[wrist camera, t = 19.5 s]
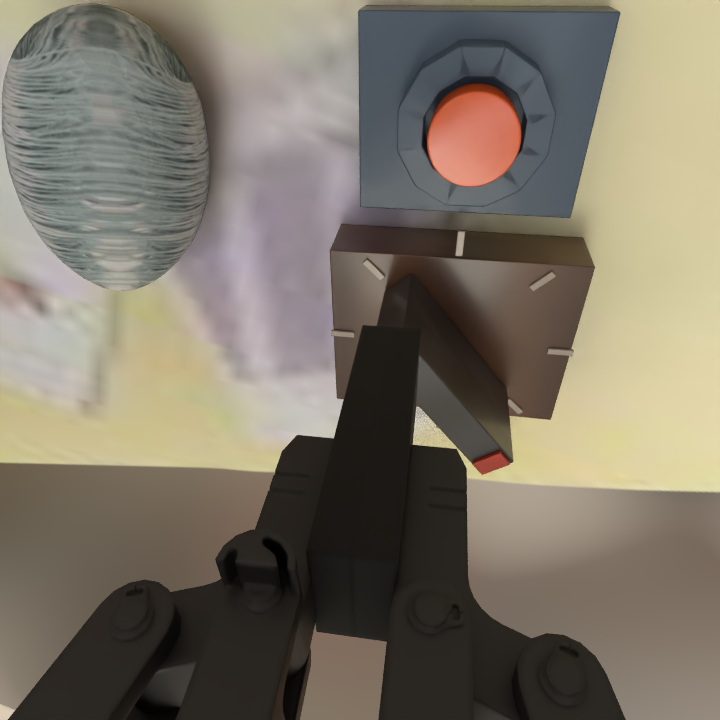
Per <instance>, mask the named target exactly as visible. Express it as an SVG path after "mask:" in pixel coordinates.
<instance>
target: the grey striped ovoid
mask: <svg viewBox="0 0 720 720" xmlns="http://www.w3.org/2000/svg"><path fill="white" fill-rule="evenodd" d="M2 129H3V139H4V144H5V151H6V158H7V163H8V168H9V172H10V175H11V178H12V181H13V184H14V186H15V189H16V192H17V195H18V197H19V200H20V202H21V205H22V207H23V210H24V212H25V213H26V215H27V217H28V219H29V220H30V222H31V224H32V225H33V227H34V228H35V230H36V232H37V233H38V235H39V236H40V237H41V239H42V240H43V242H44V243H45V244H46V245H47V247H48V248H49V249H50V250H51V251H52V252H53V253H54V254H55V255H56V256H57V257H58V258H59V259H60V260H61V261H62V262H63V263H64V264H66V265H67V266H68V267H69V268H71V269H72V270H73V271H74V272H76V273H77V274H79V275H80V276H82V277H83V278H85V279H87V280H89V281H91V282H92V283H94V284H97V285H99V286H101V287H104V288H108V289H112V290H116V291H129V290H133V289H137V288H140V287H143V286H145V285H147V284H149V283H151V282H153V281H154V280H156V279H158V278H159V277H161V276H162V275H164V274H165V273H166V272H167V271H168V270H169V269H170V268H171V267H172V266H173V265H174V264H175V263H176V262H177V261H178V260H179V259H180V258H181V256H182V255H183V254H184V252H185V251H186V250H187V248H188V247H189V245H190V244H191V242H192V241H193V239H194V237H195V235H196V232H197V230H198V228H199V225H200V223H201V220H202V216H203V211H204V208H205V204H206V200H207V195H208V187H209V175H210V163H209V145H208V138H207V132H206V126H205V120H204V114H203V110H202V106H201V102H200V100H199V97H198V95H197V92H196V90H195V87H194V85H193V83H192V80H191V78H190V76H189V74H188V72H187V70H186V68H185V66H184V64H183V63H182V62H181V60H180V59H179V58H178V56H177V55H176V54H175V52H174V51H173V49H172V48H171V47H170V45H168V44H167V43H166V42H165V41H164V40H163V39H162V38H161V37H160V36H159V35H158V34H157V33H156V32H155V31H154V30H152V29H151V28H150V27H149V26H148V25H147V24H145V23H144V22H142V21H141V20H139V19H138V18H137V17H135V16H133V15H131V14H129V13H127V12H126V11H123V10H120V9H118V8H115V7H110V6H105V5H99V4H93V3H88V4H77V5H72V6H68V7H65V8H62V9H59V10H57V11H55V12H53V13H51V14H49V15H47V16H45V17H44V18H43V19H41V20H40V21H38V22H37V23H35V24H34V25H33V26H32V27H31V28H30V29H29V30H28V32H27V33H26V34H25V35H24V36H23V37H22V39H21V40H20V41H19V43H18V44H17V46H16V48H15V50H14V51H13V54H12V56H11V59H10V61H9V64H8V67H7V71H6V74H5V78H4V84H3V93H2Z"/></svg>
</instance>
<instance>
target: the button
mask: <svg viewBox="0 0 720 720" xmlns="http://www.w3.org/2000/svg"><path fill="white" fill-rule="evenodd" d="M520 145H521V126H520V122H519V118H518V115H517V111H516V108H515V106H514V104H513V102H512V101H511V99H510V98H509V97H508V96H507V95H506V94H505V93H504V92H503V91H502V90H500V89H498V88H497V87H494V86H492V85H489V84H484V83H471V84H466V85H463V86H460V87H458V88H456V89H454V90H453V91H451V92H450V93H449V94H447V95H446V96H445V97H444V98H443V99H442V100H441V101H440V103H439V104H438V106H437V107H436V109H435V111H434V113H433V115H432V118H431V122H430V126H429V131H428V137H427V149H428V154H429V158H430V161H431V163H432V165H433V167H434V168H435V170H436V171H437V172H438V173H439V174H440V175H441V176H442V177H443V178H444V179H446V180H447V181H449V182H451V183H453V184H456V185H459V186H463V187H477V186H482V185H486V184H488V183H491V182H493V181H494V180H496V179H498V178H499V177H501V176H502V175H503V174H504V173H505V172H506V171H507V170H508V169H509V168H510V167H511V165H512V164H513V162H514V161H515V159H516V157H517V154H518V152H519V149H520Z"/></svg>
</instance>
